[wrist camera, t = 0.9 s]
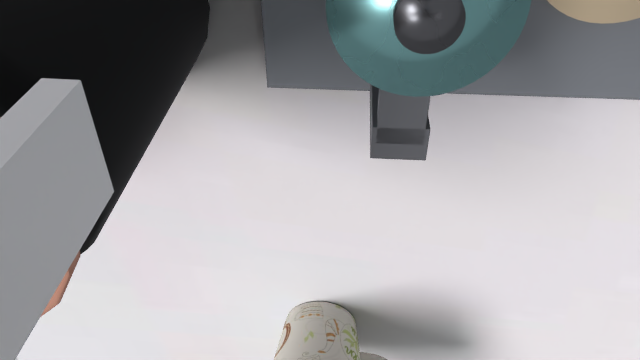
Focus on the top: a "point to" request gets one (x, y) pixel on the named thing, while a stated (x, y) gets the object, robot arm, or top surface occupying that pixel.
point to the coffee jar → (104, 70)
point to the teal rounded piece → (424, 40)
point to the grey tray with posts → (504, 79)
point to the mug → (320, 334)
